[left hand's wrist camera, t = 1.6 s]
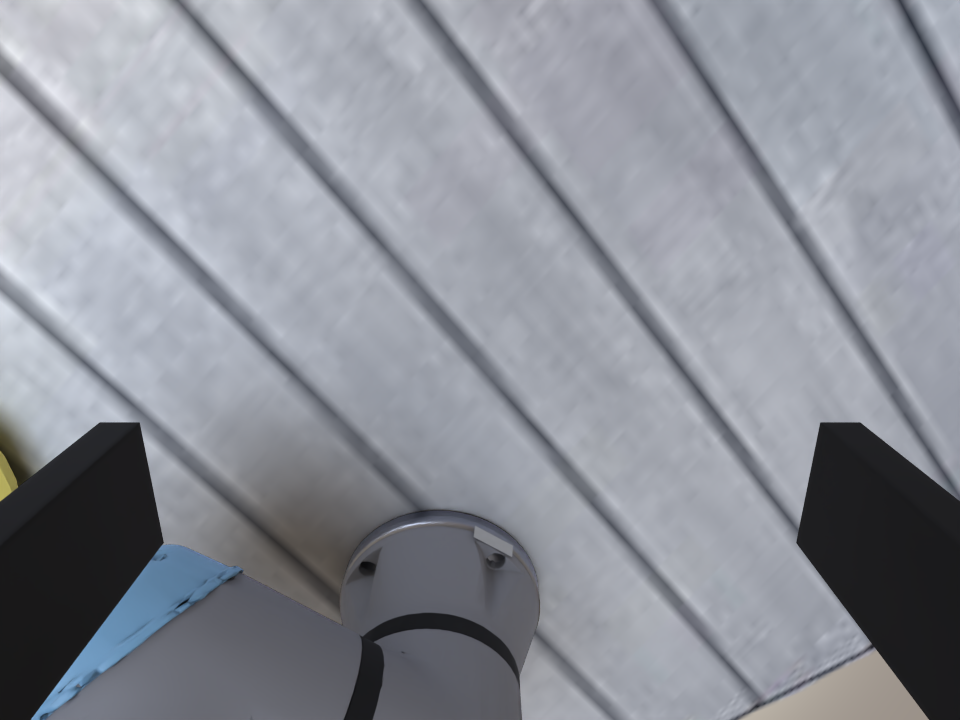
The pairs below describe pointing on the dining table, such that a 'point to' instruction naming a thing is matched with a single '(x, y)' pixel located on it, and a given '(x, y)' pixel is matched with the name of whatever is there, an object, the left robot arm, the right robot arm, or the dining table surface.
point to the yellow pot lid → (6, 478)
